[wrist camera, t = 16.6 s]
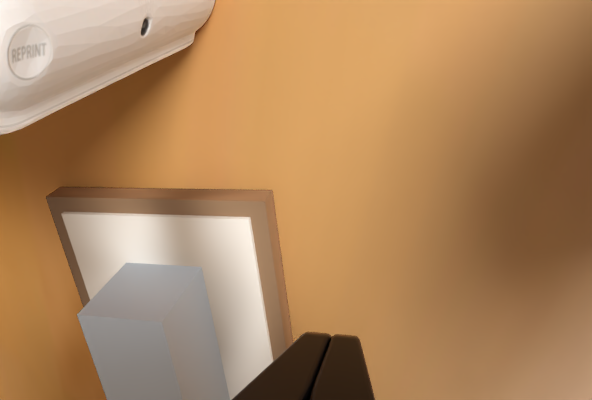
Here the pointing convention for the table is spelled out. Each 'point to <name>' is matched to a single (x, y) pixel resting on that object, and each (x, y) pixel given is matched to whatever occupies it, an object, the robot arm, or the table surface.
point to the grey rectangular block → (154, 335)
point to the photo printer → (83, 48)
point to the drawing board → (188, 257)
